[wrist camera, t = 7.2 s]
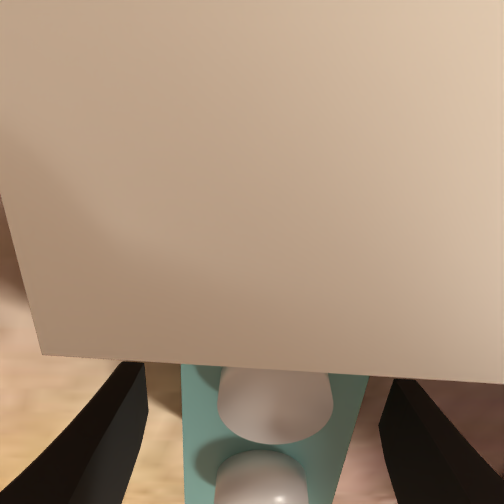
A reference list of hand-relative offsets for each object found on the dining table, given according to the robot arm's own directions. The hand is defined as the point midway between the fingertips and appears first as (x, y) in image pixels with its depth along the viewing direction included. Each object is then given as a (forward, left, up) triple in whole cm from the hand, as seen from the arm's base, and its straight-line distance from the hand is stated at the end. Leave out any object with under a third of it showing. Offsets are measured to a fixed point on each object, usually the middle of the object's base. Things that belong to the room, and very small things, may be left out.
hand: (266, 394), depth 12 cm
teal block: (0, 0, -2) cm, 2 cm away
